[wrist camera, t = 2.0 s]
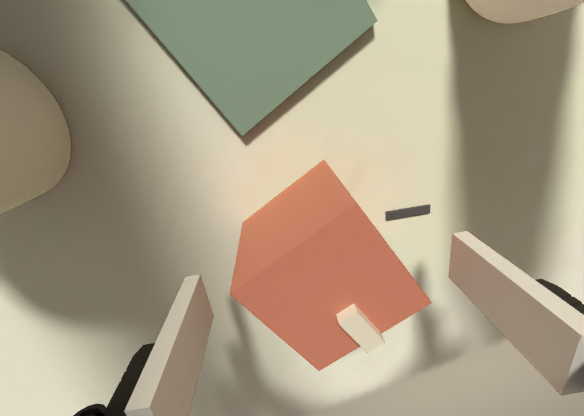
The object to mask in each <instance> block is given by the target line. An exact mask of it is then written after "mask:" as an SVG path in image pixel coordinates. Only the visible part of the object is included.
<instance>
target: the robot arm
mask: <svg viewBox="0 0 584 416" xmlns="http://www.w3.org/2000/svg"><path fill="white" fill-rule="evenodd" d="M449 278H450V279H451V280H452V281H453V282H454V283H455V284H456V285H457V286H458V287H459V289H460V290H461V291H462V292H463V293H464V294H465V295H466V296H467V297H468V298H469V299H470V300H471V301H472V302H473V303H474V304H475V305H476V306H477V307H478V309H479V310H480V311H481V312H482V313H483V314H484V315H485V316H486V317H487V318H488V319H489V320H490V321H491V322H492V323H493V324H494V325H495V326H496V327H497V329H498V330H499V331H500V332H501V333H502V334H503V335H504V336H505V337H506V338H507V339H508V340H509V341H510V342H511V343H512V344H513V345H514V346H515V347H516V348H517V349H518V351H519V352H520V353H521V354H522V355H523V356H524V357H525V358H526V359H527V360H528V361H529V362H530V363H531V364H532V365H533V366H534V367H535V369H537V370H538V372H539V373H540V374H541V375H542V376H543V377H544V378H545V379H546V380H547V381H548V382H549V383H550V384H551V385H552V386H553V387H554V389H555V390H556V391H557V392H558V393H559V394H560V395H567V394H572V393H578V392H583V391H584V305H583V304H582V302H581V301H579V300H578V299H576V298H575V297H572V296H571V295H570V294H569V293H567V292H566V291H564V290H563V289H562V288H560V287H559V286H557V285H555V284H552V283H550V282H548V281H545V280H543V279H537V280H534V279H533V278H532V277H530V276H529V275H527V274H526V273H525V272H523V271H522V270H520V269H519V268H518V267H516V266H515V265H513V264H512V263H511V262H509V261H508V260H507V259H505V258H504V257H502V256H501V255H500V254H498V253H497V252H495V251H494V250H493V249H491V248H490V247H488V246H487V245H486V244H484V243H483V242H482V241H480V240H479V239H477V238H476V237H475V236H473V235H472V234H470V233H469V232H468V231H464V232H458V233H452V243H451V255H450V267H449ZM213 316H214V315H213V312H212V309H211V306H210V303H209V300H208V297H207V294H206V291H205V288H204V284H203V281H202V278H201V275H200V274H199V275H193V276H187V277H185V279H184V281H183V283H182V285H181V288H180V290H179V292H178V294H177V296H176V298H175V301H174V303H173V305H172V307H171V309H170V312H169V314H168V316H167V318H166V320H165V323H164V325H163V327H162V329H161V331H160V334H159V336H158V338H157V340H156V342H155V343H153V344H147V345H143V346H142V347H141V348H140V349H139V350H138V352H137V353H136V354H135V355H134V356H133V357H132V359H131V361H130V363H129V365H128V367H127V371H125V373H124V375H123V377H122V379H121V382H120V383H119V385H118V387H117V389H116V390H115V392H114V394H113V396H112V398H111V400H110V402H109V404H108V406H107V408H106V407H105V406H104V405H102V404H94V405H90V406H87V407H86V408H84V409H82V410H80V411H78V412H77V413H76V414H75V415H74V416H188V415H189V411H190V407H191V404H192V400H193V396H194V392H195V388H196V384H197V380H198V376H199V372H200V368H201V364H202V360H203V356H204V352H205V348H206V344H207V340H208V336H209V332H210V328H211V324H212V320H213Z"/></svg>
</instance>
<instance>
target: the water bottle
mask: <svg viewBox="0 0 584 416" xmlns="http://www.w3.org/2000/svg"><path fill="white" fill-rule="evenodd" d="M466 1H467V3H468V4H469V6H470V7H471V8H472V9H473V10H474V11H475V12H476V13H478V14H479V15H480V16H482V17H484V18H485V19H488V20H490V21H493V22H497V23H505V24H511V23H520V22H525V21H530V20H534V19H538V18H541V17H545V16H548V15H552V14H555V13H558V12H561V11H564V10H567V9H570V8H572V7H575V6H577V5H580V4H582V3H584V0H466Z"/></svg>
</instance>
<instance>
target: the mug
mask: <svg viewBox="0 0 584 416" xmlns="http://www.w3.org/2000/svg"><path fill="white" fill-rule="evenodd" d="M70 157H71V139H70V134H69V128H68V125H67V123H66V120H65V117H64V115H63V112H62V110H61V108H60V107H59V105H58V103H57V102H56V100H55V98H54V97H53V95H52V94H51V93H50V91H49V90H48V89H47V88H46V86H45V85H44V84H43V83H42V81H41V80H40V79H39V78H38V77H37V76H35V75H34V74H33V73H32V72H31V71H30V70H29V69H28V68H27V67H26V66H25V65H23V64H22V63H20V62H19V61H17V60H16V59H14V58H13V57H12V56H10V55H9V54H7V53H5V52H3V51H1V50H0V214H2V213H4V212H6V211H8V210H11V209H13V208H15V207H17V206H19V205H21V204H23V203H25V202H27V201H29V200H31V199H33V198H35V197H38V196H40V195H42V194H43V193H45V192H47V191H49V190H50V189H52V188H53V187H54V186H55V185H56V184H57V183H58V182H59V181H60V180H61V179H62V177H63V175H64V174H65V172H66V170H67V168H68V164H69V161H70Z"/></svg>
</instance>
